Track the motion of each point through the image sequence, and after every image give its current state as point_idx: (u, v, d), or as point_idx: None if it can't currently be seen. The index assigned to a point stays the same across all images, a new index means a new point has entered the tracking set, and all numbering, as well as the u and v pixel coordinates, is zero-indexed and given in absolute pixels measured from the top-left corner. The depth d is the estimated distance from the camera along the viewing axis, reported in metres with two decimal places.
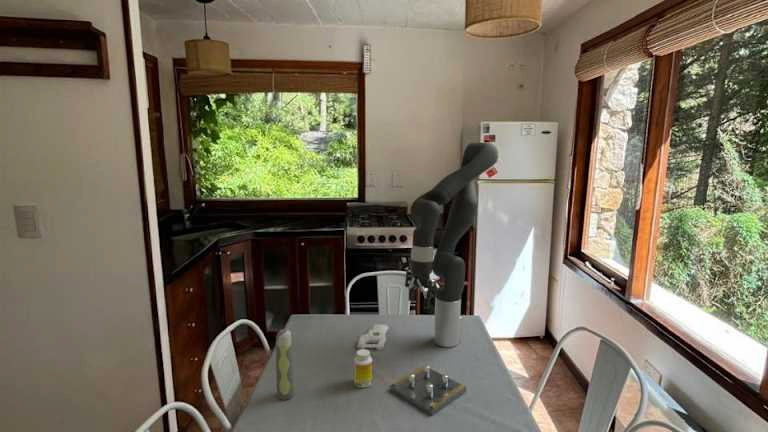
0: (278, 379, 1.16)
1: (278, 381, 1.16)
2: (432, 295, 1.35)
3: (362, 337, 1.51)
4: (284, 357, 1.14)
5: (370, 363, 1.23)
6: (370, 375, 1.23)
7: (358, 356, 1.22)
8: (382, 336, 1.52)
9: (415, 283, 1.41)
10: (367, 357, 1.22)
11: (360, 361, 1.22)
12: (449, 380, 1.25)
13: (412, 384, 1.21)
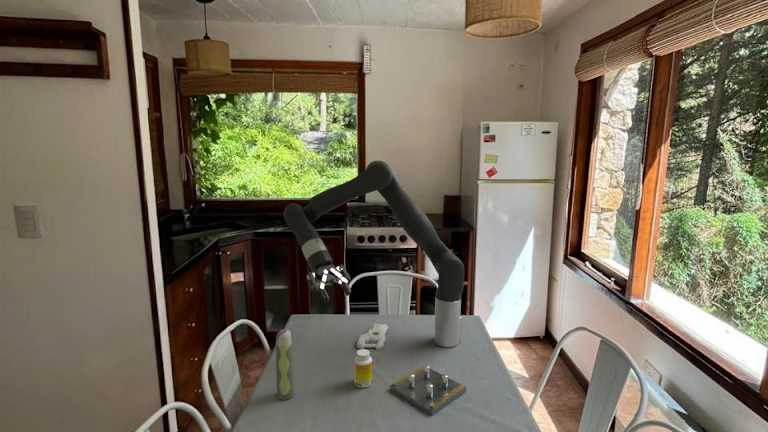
0: (278, 379, 1.16)
1: (278, 381, 1.16)
2: (313, 288, 1.26)
3: (362, 336, 1.51)
4: (284, 357, 1.14)
5: (370, 363, 1.23)
6: (370, 375, 1.23)
7: (358, 356, 1.22)
8: (382, 336, 1.52)
9: None
10: (368, 357, 1.22)
11: (360, 361, 1.22)
12: (449, 380, 1.25)
13: (412, 384, 1.21)
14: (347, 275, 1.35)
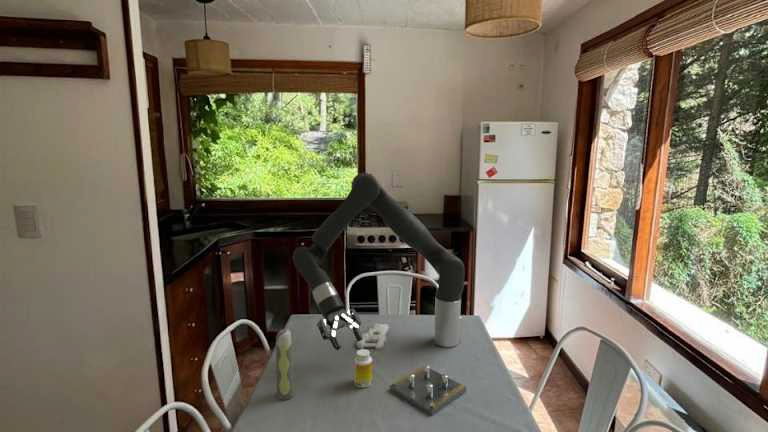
0: (278, 379, 1.16)
1: (278, 381, 1.16)
2: (324, 336, 1.25)
3: None
4: (284, 357, 1.14)
5: (370, 363, 1.23)
6: (370, 375, 1.23)
7: (358, 356, 1.22)
8: (382, 335, 1.52)
9: None
10: (367, 357, 1.22)
11: (360, 361, 1.22)
12: (449, 380, 1.25)
13: (412, 384, 1.21)
14: (358, 319, 1.34)
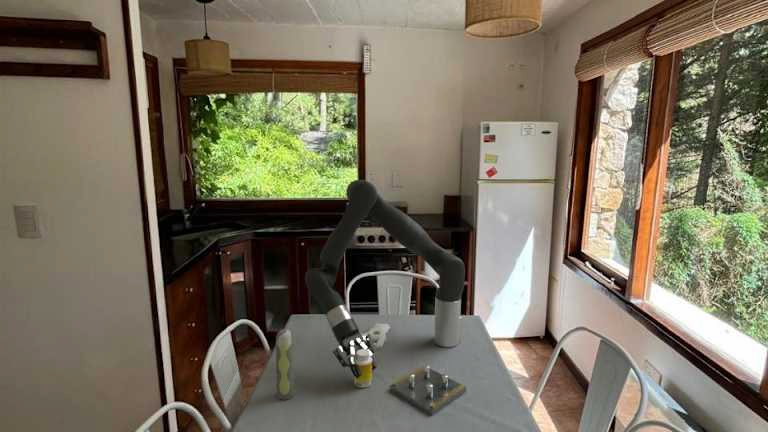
0: (278, 379, 1.16)
1: (278, 381, 1.16)
2: (344, 363, 1.21)
3: (362, 335, 1.52)
4: (284, 357, 1.14)
5: (370, 363, 1.23)
6: (370, 375, 1.23)
7: (358, 356, 1.22)
8: (382, 335, 1.52)
9: None
10: (367, 357, 1.22)
11: (360, 361, 1.22)
12: (449, 380, 1.25)
13: (412, 384, 1.21)
14: (372, 347, 1.29)
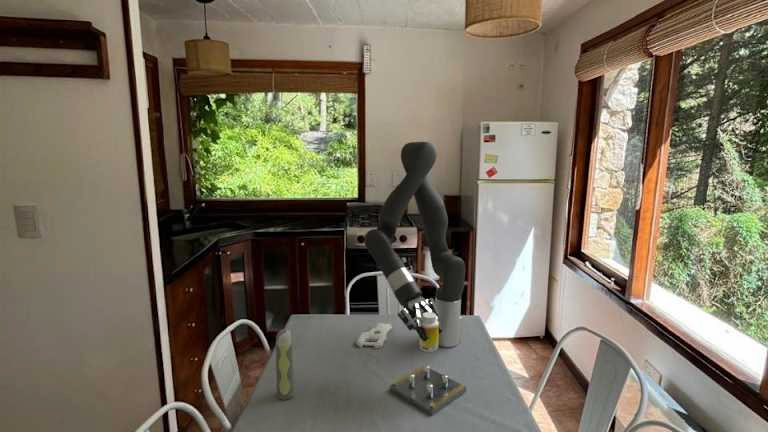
0: (278, 379, 1.16)
1: (278, 381, 1.16)
2: (410, 326, 1.16)
3: (362, 334, 1.53)
4: (284, 357, 1.14)
5: (437, 326, 1.17)
6: (437, 339, 1.18)
7: (425, 318, 1.16)
8: (382, 335, 1.53)
9: None
10: (435, 319, 1.17)
11: (427, 323, 1.16)
12: (449, 380, 1.25)
13: (412, 384, 1.21)
14: (436, 310, 1.23)
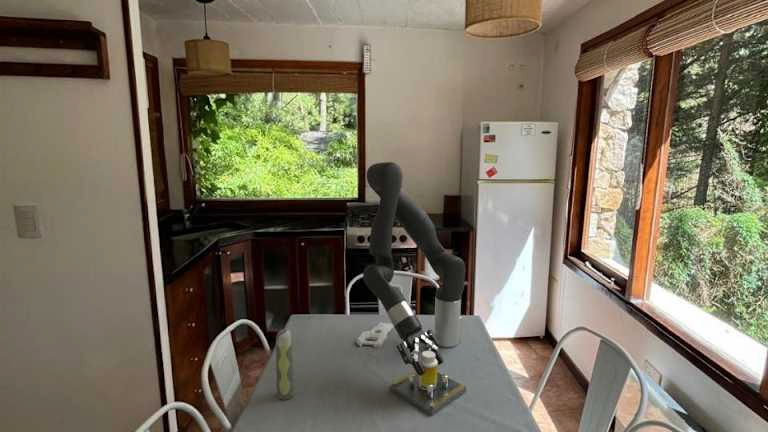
0: (278, 379, 1.16)
1: (278, 381, 1.16)
2: (406, 360, 1.17)
3: (363, 333, 1.54)
4: (284, 357, 1.14)
5: (436, 365, 1.19)
6: (436, 378, 1.19)
7: (424, 358, 1.18)
8: (383, 334, 1.53)
9: None
10: (434, 359, 1.19)
11: (426, 363, 1.18)
12: (449, 380, 1.25)
13: (412, 384, 1.21)
14: (437, 341, 1.25)
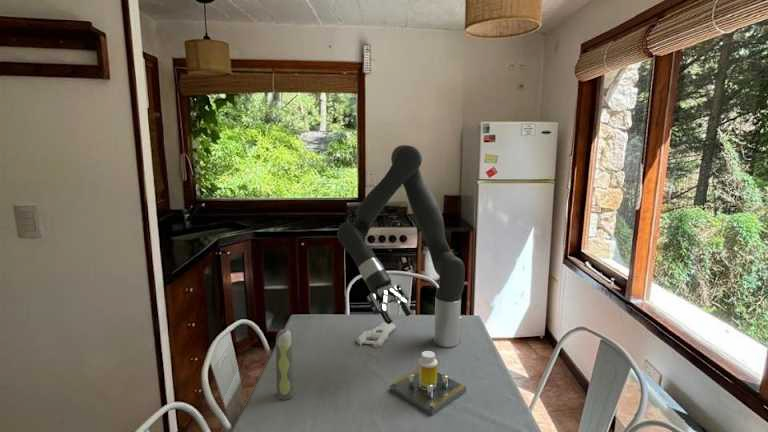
0: (278, 379, 1.16)
1: (278, 381, 1.16)
2: (375, 310, 1.24)
3: (364, 333, 1.54)
4: (284, 357, 1.14)
5: (436, 365, 1.19)
6: (436, 378, 1.19)
7: (424, 358, 1.18)
8: (384, 334, 1.53)
9: None
10: (434, 359, 1.19)
11: (426, 363, 1.18)
12: (449, 380, 1.25)
13: (412, 384, 1.21)
14: (406, 294, 1.33)
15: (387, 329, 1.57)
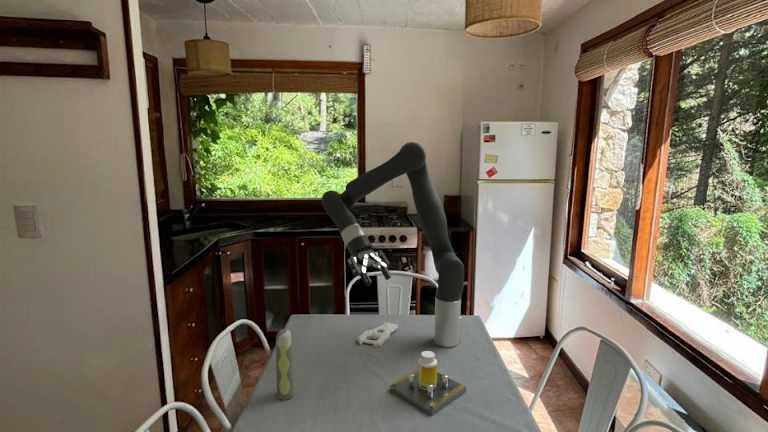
0: (278, 379, 1.16)
1: (278, 381, 1.16)
2: (355, 272, 1.29)
3: (365, 332, 1.55)
4: (284, 357, 1.14)
5: (436, 365, 1.19)
6: (435, 377, 1.19)
7: (424, 358, 1.18)
8: (384, 334, 1.53)
9: None
10: (433, 359, 1.19)
11: (425, 363, 1.18)
12: (449, 380, 1.25)
13: (412, 384, 1.21)
14: (386, 260, 1.37)
15: (389, 329, 1.57)
